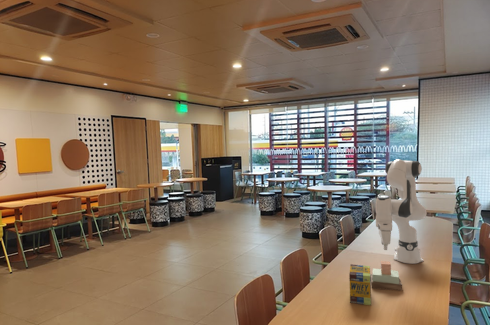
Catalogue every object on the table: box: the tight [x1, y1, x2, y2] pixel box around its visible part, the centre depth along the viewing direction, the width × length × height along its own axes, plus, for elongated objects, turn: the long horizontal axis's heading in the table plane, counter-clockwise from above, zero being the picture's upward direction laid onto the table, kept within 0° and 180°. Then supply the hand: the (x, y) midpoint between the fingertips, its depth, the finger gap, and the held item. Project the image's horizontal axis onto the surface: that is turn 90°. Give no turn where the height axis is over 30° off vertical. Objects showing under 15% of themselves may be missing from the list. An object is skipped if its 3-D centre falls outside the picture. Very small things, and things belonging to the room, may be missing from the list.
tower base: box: [370, 273, 403, 292], centre depth 190 cm, size 12×16×4 cm
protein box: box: [348, 263, 372, 306], centre depth 175 cm, size 10×15×16 cm
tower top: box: [371, 267, 400, 284], centre depth 190 cm, size 10×14×4 cm
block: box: [380, 260, 392, 275], centre depth 189 cm, size 5×5×6 cm
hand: (384, 247), depth 188 cm, fingers open, 8 cm apart
